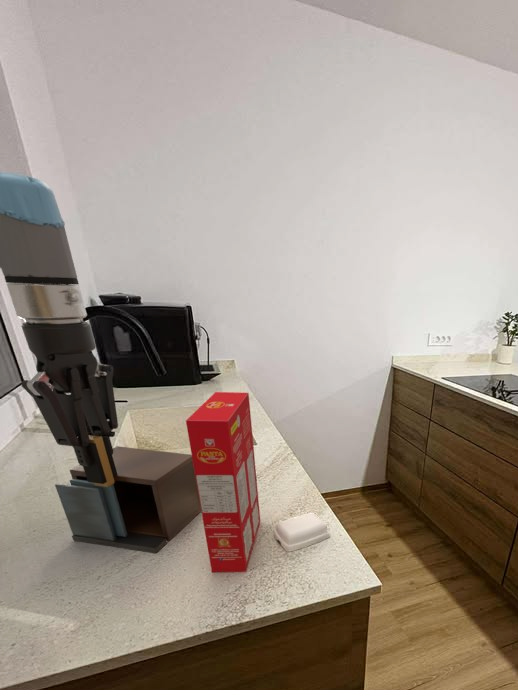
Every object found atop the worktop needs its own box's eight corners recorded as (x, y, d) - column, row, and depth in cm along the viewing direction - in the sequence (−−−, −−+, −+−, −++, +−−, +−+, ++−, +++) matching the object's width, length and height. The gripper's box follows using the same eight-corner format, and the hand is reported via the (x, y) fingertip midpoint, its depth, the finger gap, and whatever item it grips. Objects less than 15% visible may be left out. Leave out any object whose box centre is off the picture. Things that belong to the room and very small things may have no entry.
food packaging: (232, 521, 74) (215, 392, 63) (260, 521, 75) (248, 392, 63) (211, 572, 61) (185, 420, 50) (245, 571, 61) (227, 421, 50)
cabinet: (73, 540, 67) (50, 478, 61) (131, 500, 80) (117, 446, 74) (156, 553, 65) (140, 490, 59) (203, 509, 77) (193, 454, 72)
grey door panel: (84, 532, 67) (50, 435, 59) (91, 527, 68) (59, 431, 60) (123, 538, 66) (94, 440, 58) (129, 533, 67) (102, 436, 59)
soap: (287, 553, 66) (286, 539, 65) (271, 534, 71) (270, 520, 70) (332, 537, 71) (332, 523, 69) (314, 520, 76) (314, 507, 74)
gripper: (27, 326, 44) (87, 504, 55) (120, 318, 57) (154, 462, 68) (-27, 323, 45) (41, 498, 56) (76, 315, 58) (116, 458, 69)
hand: (103, 478), depth 62 cm, fingers closed on grey door panel, 2 cm apart
